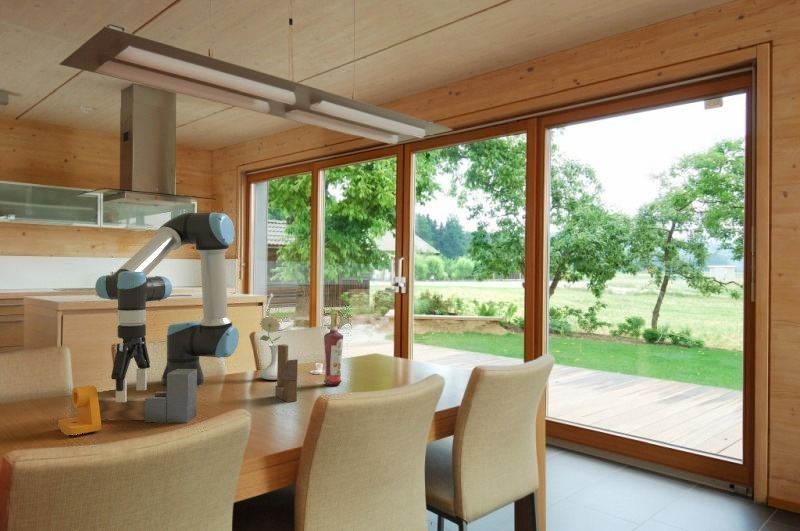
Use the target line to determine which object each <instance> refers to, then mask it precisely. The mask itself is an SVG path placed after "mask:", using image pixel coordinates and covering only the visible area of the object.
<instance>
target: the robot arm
mask: <svg viewBox="0 0 800 531" xmlns="http://www.w3.org/2000/svg"><path fill="white" fill-rule="evenodd" d="M234 240H235V226H234V223H233V221H232V219H231V218H230V216H228V215H227V214H225V213H222V212H215V211H213V212H186V213H182V214H179V215H176V216H174V217H172V218H171V219H169V220H167V222H165V223H164V224H162V225H161V226H160V227H159V228H157V230H156V231H155V235H154V236H153V237H152V238H151V239H150V240H149V241H148V242H146V244H144V245H143V246H142V247H141V248H140V249H139V250H137V252H136V253H135V254H134V255H132V257H130V258H129V259H128V260H127V261H126V262H125V263H124V264H123V265H121V266H120V267H119V268H118V269H117V270H116V272H114V273H113V274H111V275H110V274H107V275H102V276H100V277H98V278H97V280H96V282H95V285H94V288H95V289H94V290H95V292H96V295H97V296H98V297H99V298H100V299H102V300H111V301H117V312H116V316H117V323H118V324H119V325H117V338H118V339H122V343H117V344H116V353H115V359H114V362H113V366H112V371H111V375H110V376H111V380H115V398H116V402H126V401H127V398H128V397H127V384H128V383H127V378H126V376H127V372H128V369H129V366H130V363H131V360H132V359H133V360H134V361H135V364H136V365H137V368H136V374H135V375H136V376H135V377H136V384H135V385H136V389H135V390H136V391H146V390H147V369H150V368H151V365H150V364H151V363H150V362H151V361H150V356H149V353H148V352H149V351H148V348H147V343H146V335H147V325H146V324H145V323H146V322H147V315H146V314H147V309H146V308H147V304H146V303H148V302H154V301H155V302H156V301H158V302H160V301H162V300H165V299H167V298H169V297H170V295H171V294H172V292H173V285H172V282H171V281H170V279H169V278H168V277H165V276H161V275H160V276H159V275H158V276H157V275H155V276H148V275H149V274H151V272H152V271H153V270H154V269H155V268H156V267H157V266H158V265H159V264H160V263H161V262H162V261H163V260H164V259H165V258H166V257H167V256H168V255H169V254H170V253H171V252H172V251H175V250H179V249H180V247H181V246H184V245H195V251H196V252H197V253H198V254H199V256H200V271H201V272H200V275H201V293H202V314H203V318H202V320H200V321H198V320H197V321H196V320H195V321H186V322H178V323H173V324H169V326H168V328H167V332H166V364H165V367H164V370H163V373H162V376H161V385H162V386H165V387H167V374H168V373H170V372H172V371H174V370H176V369H197V386H198V385H200V384H203V383H204V382H205V376H204V372H203V368H202V366H201V363H200V357H206V358H216V359H219V358H228V357H230V356H232V355H233V354H234V353H235V351H236V349H237V348H238V344H239V340H240V339H239V338H240V336H239V335H240V331H239V329H238V327H236V326H235V325H234V326H233V321H232V319H231V318H230V317H229V316H228V297H227V277H226V276H227V275H226V274H227V273H226V252H228V250H229V249H230V248H229V246H230V245H232V244H233V242H234Z"/></svg>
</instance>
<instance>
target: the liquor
mask: <svg viewBox="0 0 800 531" xmlns="http://www.w3.org/2000/svg"><path fill="white" fill-rule="evenodd" d="M338 313H339V312H338V311H330V328H329V332H327V333H325V334H324V335H323V341H324V342H323V346H324V347H323V349H324V350H323V353H324V371H325V372H324V373H325V374H324V381H323V382H324V384H325V385H327V386H328V387H337V386H339V385H340V384H341V383H342V382H343V381H342V378H341V377H342V376H341V375H342V359H343V345H344V335H343V334H342V333H340V332H339V331H338V316H339V315H338Z"/></svg>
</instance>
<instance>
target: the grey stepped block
mask: <svg viewBox="0 0 800 531" xmlns="http://www.w3.org/2000/svg"><path fill="white" fill-rule="evenodd" d="M197 397H198V385H197V369H176V370H174V371H172V372H170V373H168V374H167V386H166V391H156V392H154V397H152V396H146V397H144V398H145V421H144V423H145V422H159V423H158V424H168V423H169V424H173V423H175V424H177V423H178V424H188V423H189V422H191V421H192V420H193V419H194V418H195V417H197V407H198V406H197V404H198V403H197V402H198V401H197V399H198V398H197Z"/></svg>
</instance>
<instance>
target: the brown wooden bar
mask: <svg viewBox="0 0 800 531" xmlns="http://www.w3.org/2000/svg"><path fill="white" fill-rule="evenodd" d="M145 398H146V397H127V401H126V402H116V397H105V396H103V397H101V396H98V401H99V409H100V417H101V419H115V420H114V421H127V420H145Z"/></svg>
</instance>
